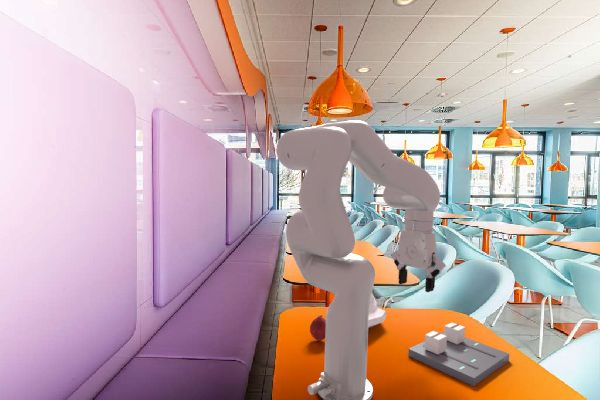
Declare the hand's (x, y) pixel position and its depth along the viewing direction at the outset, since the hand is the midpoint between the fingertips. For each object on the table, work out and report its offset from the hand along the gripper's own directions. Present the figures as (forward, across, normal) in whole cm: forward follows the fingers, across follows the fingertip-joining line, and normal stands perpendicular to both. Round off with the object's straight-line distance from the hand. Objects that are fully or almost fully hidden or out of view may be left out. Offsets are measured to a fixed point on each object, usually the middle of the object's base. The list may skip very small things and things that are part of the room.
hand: (415, 286), depth 103 cm
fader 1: (+16, +7, 0) cm, 17 cm away
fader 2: (+16, +7, +10) cm, 20 cm away
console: (+18, +11, +5) cm, 22 cm away
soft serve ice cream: (+18, -18, 0) cm, 26 cm away
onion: (+18, -19, -19) cm, 32 cm away
